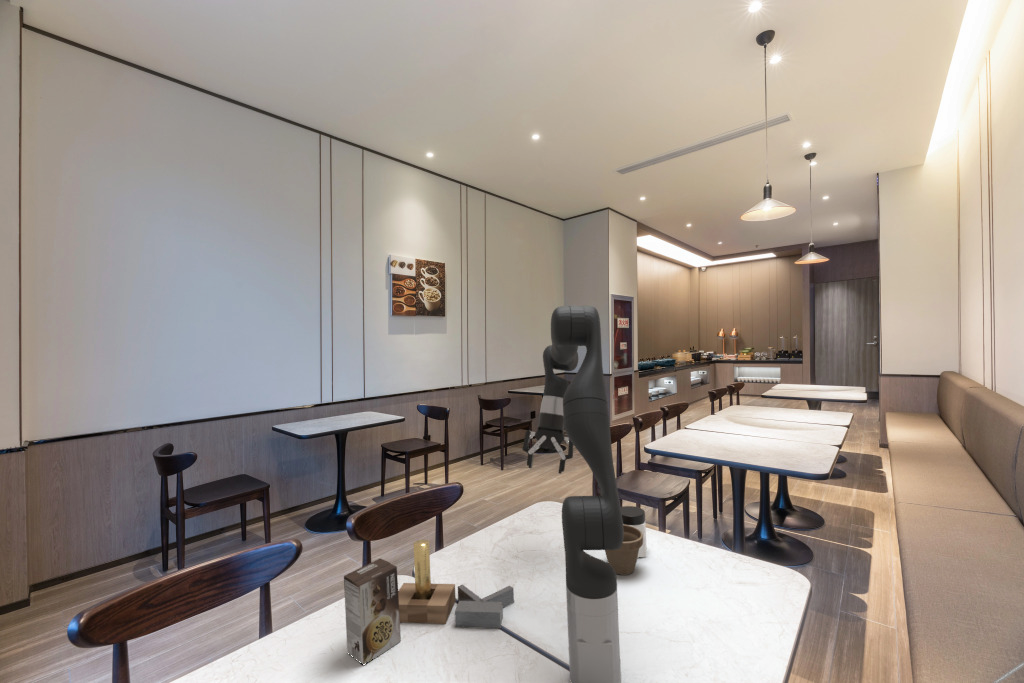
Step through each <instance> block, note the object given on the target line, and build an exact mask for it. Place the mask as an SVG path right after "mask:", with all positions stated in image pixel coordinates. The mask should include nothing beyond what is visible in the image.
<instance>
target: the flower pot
mask: <svg viewBox="0 0 1024 683" xmlns="http://www.w3.org/2000/svg"><path fill="white" fill-rule="evenodd" d="M623 532H624V536H623V543H622V546H621V547H620V548H619V549H616V550H604V552H605V556H606V560H607V561H606V562H607V563H608V564H610V565H611V566H612V567H613V568H614V570H615V572H616V575H621V576H627V575H631V574H633V573H634V572H635V568H636V564H637V561H638V558H637V557H638V552H639V548H640V547H641V546H642V544H643V533H642V532H641V531H640V530H639V529H637V528H635V527H632V526H629V525H623Z"/></svg>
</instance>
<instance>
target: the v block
mask: <svg viewBox="0 0 1024 683" xmlns="http://www.w3.org/2000/svg"><path fill="white" fill-rule="evenodd" d="M514 592H515V591H514V587H513V586H511V585H508V586H506V587H504V588H502V589H499V590H497V591H495V592H493V593H491V594H489V595H486V596H485V597H482V598H481V597H480V596H479V595H477V594H476V593H475V592H473V591H472V590H470V589H469V588H468V587H466V586H465V585H464V584H460V585H458V586H457V601H458V603H457V605H456V607H455V610H454V618H455V620H454V621H455V623H454V624H455V628H469V629H470V628H471V629H472V628H473V629H474V628H475V629H497V630H498V629H501V628H502V623H503V619H504V611H503V609H504V608H506V607H508V606H510V605H512V604H514V603H515V597H514V596H515V595H514V594H515V593H514Z"/></svg>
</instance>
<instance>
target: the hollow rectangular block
mask: <svg viewBox="0 0 1024 683" xmlns="http://www.w3.org/2000/svg"><path fill="white" fill-rule="evenodd" d="M398 596H399V616H400V623H408V624H409V623H410V624H411V623H413V624H440V625H444V624H445V625H446V624H447V622H448V620H449V618H450V615H451V612H452V610H453V608H454V606H455V603H456V600H457V599H456V596H457V595H456V584H455V583H431V599H430V600H420V599H416V593H415V582H404V583H403V584H402V585H401V586H400V588H398Z"/></svg>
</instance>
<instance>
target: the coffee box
mask: <svg viewBox="0 0 1024 683" xmlns="http://www.w3.org/2000/svg"><path fill="white" fill-rule="evenodd" d="M343 585H344V589H343V590H344V607H345V608H344V609H345V629H346V652H348V653H349V654H350V655H352V656H353V657H354V658H355V659H357V660H358V661H360V662H361V663H362V664H365V663H367V662H369V661H370V662H372V661H373V660H375V659H376V658H377V656H378V657H380V656H381V655H382V654H384V653H386V651H388V650H390V649H391V648H393V647H394V646H396V645H397V644H399V643H401V641H402V638H401V626H400V625H401V622H400V616H399V596H398V591H399V582H398V567H397V566H396V565H394V564H392V563H391V562H389V561H387V560H385V559H383V558H378V559H376V560H373V561H372V562H370V563H368V564H365V565H363V566H362V567H360V568H357V569H355V570H353V571H351V572H349V573H347V574H345V575H344V576H343ZM348 653H347V654H348ZM349 654H348V655H349ZM350 655H349V656H350ZM354 658H353V659H354ZM374 658H375V659H374ZM355 659H354V660H355ZM372 659H373V660H372ZM371 660H372V661H371ZM358 661H357V662H358ZM370 662H369V663H370Z"/></svg>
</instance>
